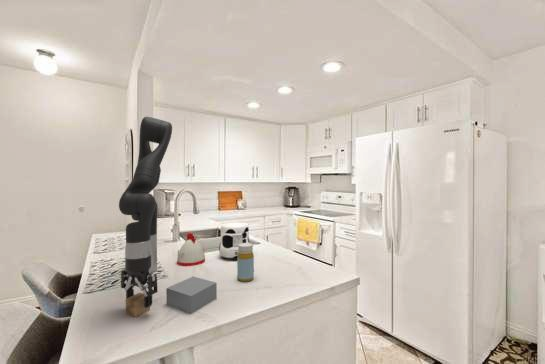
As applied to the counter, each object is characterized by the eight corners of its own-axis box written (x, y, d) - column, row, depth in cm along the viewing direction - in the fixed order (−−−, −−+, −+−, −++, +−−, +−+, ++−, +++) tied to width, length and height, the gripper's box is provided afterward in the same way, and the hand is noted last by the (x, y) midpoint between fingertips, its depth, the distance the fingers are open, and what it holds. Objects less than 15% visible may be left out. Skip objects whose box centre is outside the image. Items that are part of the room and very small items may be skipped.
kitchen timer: (196, 256, 142) (196, 229, 142) (209, 261, 133) (209, 233, 133) (172, 261, 132) (172, 233, 132) (185, 268, 123) (184, 237, 123)
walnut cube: (125, 314, 81) (125, 298, 81) (139, 307, 86) (139, 292, 86) (136, 317, 79) (136, 302, 79) (150, 310, 84) (149, 295, 84)
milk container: (232, 250, 153) (232, 220, 153) (256, 254, 144) (256, 223, 144) (212, 258, 138) (212, 225, 138) (237, 263, 129) (237, 228, 129)
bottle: (234, 279, 109) (234, 244, 109) (246, 274, 114) (246, 241, 114) (244, 283, 104) (244, 247, 104) (257, 278, 109) (256, 244, 109)
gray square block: (166, 305, 87) (166, 288, 87) (193, 291, 98) (192, 276, 98) (191, 314, 81) (191, 296, 81) (216, 299, 92) (216, 282, 92)
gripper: (112, 255, 82) (113, 305, 82) (143, 260, 76) (144, 314, 76) (134, 249, 89) (134, 295, 89) (163, 253, 83) (164, 303, 83)
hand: (139, 304), depth 82 cm, fingers open, 8 cm apart
